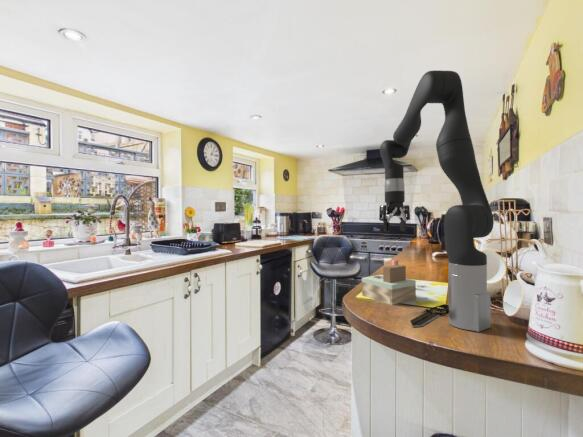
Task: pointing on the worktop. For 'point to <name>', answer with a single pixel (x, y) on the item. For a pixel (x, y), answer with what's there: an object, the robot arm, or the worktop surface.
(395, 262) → the rounded rod
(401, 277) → the lid
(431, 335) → the worktop surface
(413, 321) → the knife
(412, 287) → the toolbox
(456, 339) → the worktop surface
